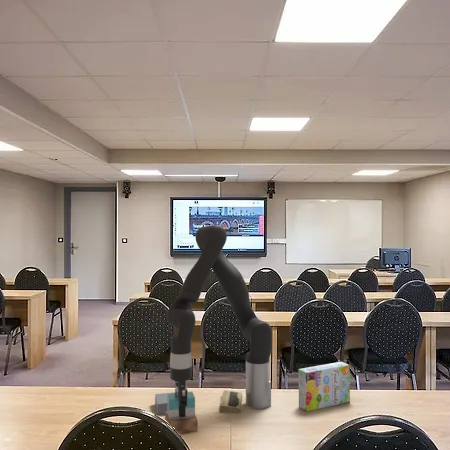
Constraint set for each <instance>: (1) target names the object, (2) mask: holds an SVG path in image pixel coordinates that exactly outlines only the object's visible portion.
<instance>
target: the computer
mask: <svg viewBox="0 0 450 450" xmlns="http://www.w3.org/2000/svg"><path fill="white" fill-rule="evenodd" d="M220 400H221V402H220V406H219V413H221V414H222V413H223V414H225V413H227V414H229V413H230V414H240V413H241V412H242V402H243V393H242V392H241V391H240V392H239V391H233V390H223V392H222V395H221V399H220Z"/></svg>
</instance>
